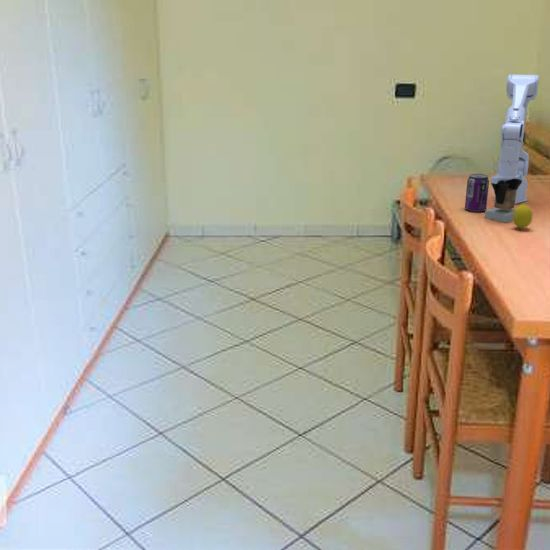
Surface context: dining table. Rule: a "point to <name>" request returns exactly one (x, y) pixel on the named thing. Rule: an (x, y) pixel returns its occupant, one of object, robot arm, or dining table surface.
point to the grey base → (500, 214)
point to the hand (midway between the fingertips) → (504, 202)
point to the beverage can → (477, 192)
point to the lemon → (522, 216)
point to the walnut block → (507, 200)
